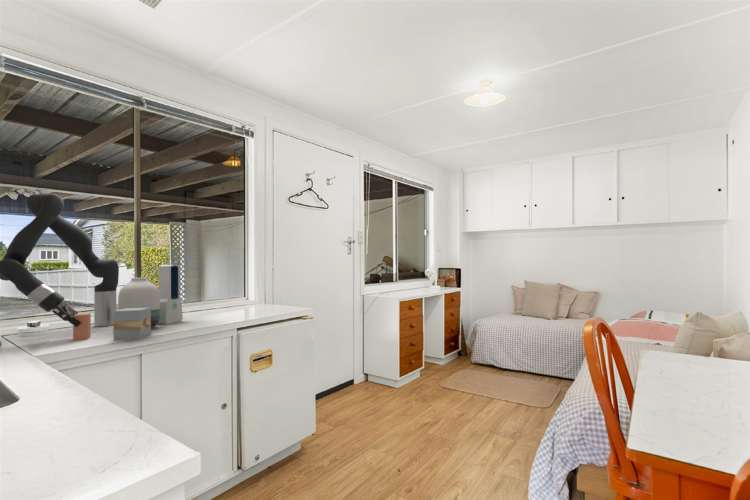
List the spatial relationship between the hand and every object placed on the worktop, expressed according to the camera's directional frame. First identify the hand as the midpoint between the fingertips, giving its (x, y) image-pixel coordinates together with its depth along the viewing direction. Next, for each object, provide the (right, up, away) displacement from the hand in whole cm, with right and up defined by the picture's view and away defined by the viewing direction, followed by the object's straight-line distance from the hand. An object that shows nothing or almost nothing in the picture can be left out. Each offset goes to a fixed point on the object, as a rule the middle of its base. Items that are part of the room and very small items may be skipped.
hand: (81, 323), depth 160 cm
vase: (+10, -7, +23) cm, 26 cm away
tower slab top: (+20, +2, +2) cm, 20 cm away
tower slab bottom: (+20, -6, +2) cm, 21 cm away
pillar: (0, -6, 0) cm, 6 cm away
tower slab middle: (+20, -2, +2) cm, 20 cm away
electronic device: (+15, -7, +39) cm, 43 cm away
